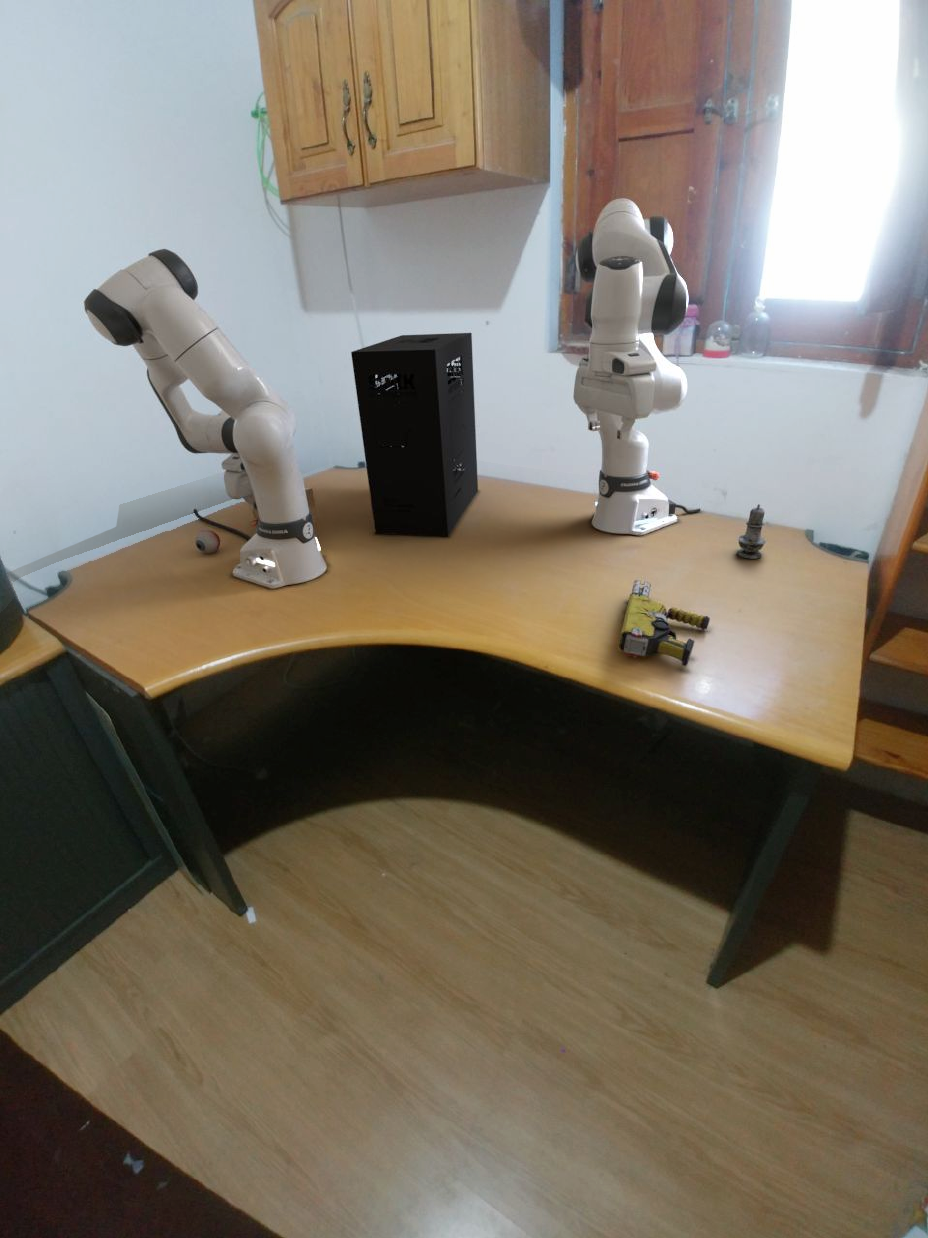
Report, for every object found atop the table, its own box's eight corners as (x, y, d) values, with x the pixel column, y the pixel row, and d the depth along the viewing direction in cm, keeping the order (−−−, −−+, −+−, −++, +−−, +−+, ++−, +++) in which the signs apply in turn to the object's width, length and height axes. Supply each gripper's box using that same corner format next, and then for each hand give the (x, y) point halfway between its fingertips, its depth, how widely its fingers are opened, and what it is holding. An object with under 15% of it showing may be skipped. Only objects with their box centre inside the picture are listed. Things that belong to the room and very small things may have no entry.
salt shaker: (765, 559, 136) (776, 508, 130) (737, 558, 137) (747, 508, 131) (759, 549, 141) (770, 499, 135) (733, 548, 142) (742, 499, 136)
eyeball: (192, 555, 155) (186, 534, 152) (210, 546, 160) (204, 525, 157) (210, 558, 153) (204, 536, 150) (227, 548, 158) (222, 527, 155)
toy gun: (711, 591, 118) (634, 577, 122) (713, 651, 98) (620, 632, 102) (705, 612, 120) (629, 597, 124) (706, 675, 100) (615, 655, 104)
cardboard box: (448, 536, 158) (435, 349, 135) (375, 533, 162) (351, 351, 140) (477, 490, 189) (471, 332, 167) (416, 489, 194) (401, 335, 171)
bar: (318, 520, 160) (312, 488, 157) (299, 525, 156) (292, 492, 153) (272, 514, 177) (265, 485, 174) (254, 518, 174) (246, 489, 171)
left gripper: (272, 446, 175) (282, 492, 182) (216, 464, 160) (228, 514, 167) (288, 448, 172) (297, 495, 179) (232, 467, 157) (244, 517, 164)
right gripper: (567, 355, 119) (564, 427, 125) (634, 365, 102) (627, 447, 109) (593, 352, 121) (590, 423, 128) (663, 362, 104) (655, 442, 111)
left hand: (263, 504), depth 173 cm, fingers closed on bar, 6 cm apart
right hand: (607, 434), depth 118 cm, fingers open, 8 cm apart
